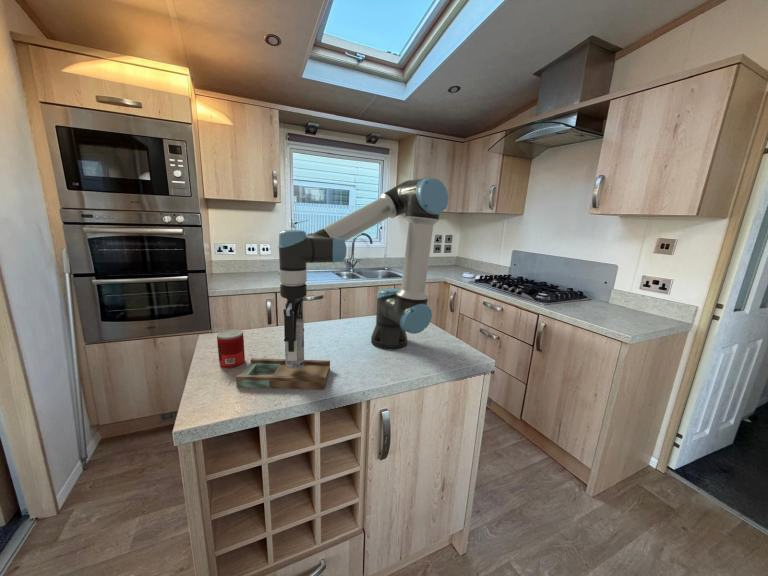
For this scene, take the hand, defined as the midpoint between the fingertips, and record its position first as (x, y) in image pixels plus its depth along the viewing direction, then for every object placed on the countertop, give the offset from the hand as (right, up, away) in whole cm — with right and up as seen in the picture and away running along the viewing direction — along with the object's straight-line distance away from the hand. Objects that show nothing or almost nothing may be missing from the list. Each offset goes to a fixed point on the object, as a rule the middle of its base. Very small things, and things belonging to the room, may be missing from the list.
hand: (294, 355), depth 96 cm
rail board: (-3, -8, +2) cm, 8 cm away
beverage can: (0, -3, +1) cm, 4 cm away
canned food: (-24, -5, +10) cm, 27 cm away
